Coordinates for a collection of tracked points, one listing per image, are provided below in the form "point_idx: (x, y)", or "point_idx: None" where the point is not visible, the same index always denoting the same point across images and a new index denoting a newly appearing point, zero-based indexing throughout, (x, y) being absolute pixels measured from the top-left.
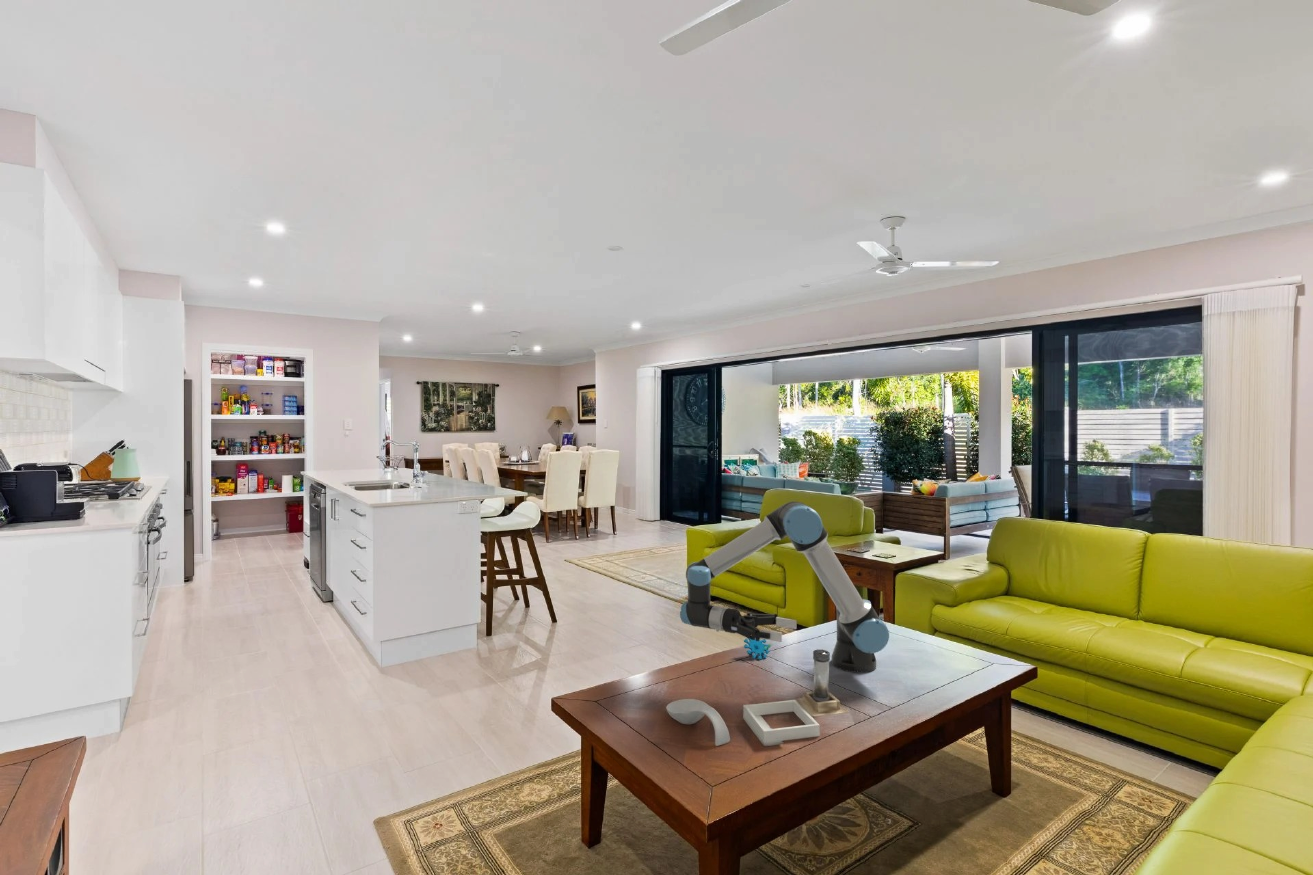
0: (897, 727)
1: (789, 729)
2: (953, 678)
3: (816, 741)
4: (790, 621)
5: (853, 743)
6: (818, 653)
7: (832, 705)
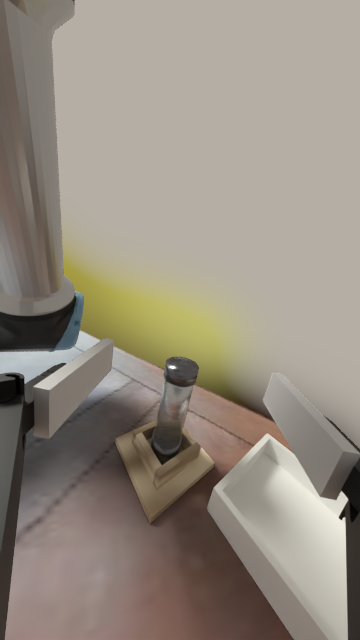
0: None
1: None
2: None
3: None
4: (102, 354)
5: (237, 414)
6: (191, 368)
7: None
